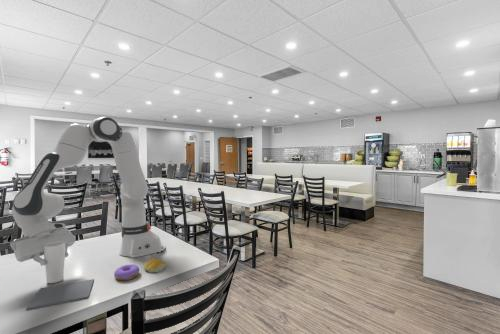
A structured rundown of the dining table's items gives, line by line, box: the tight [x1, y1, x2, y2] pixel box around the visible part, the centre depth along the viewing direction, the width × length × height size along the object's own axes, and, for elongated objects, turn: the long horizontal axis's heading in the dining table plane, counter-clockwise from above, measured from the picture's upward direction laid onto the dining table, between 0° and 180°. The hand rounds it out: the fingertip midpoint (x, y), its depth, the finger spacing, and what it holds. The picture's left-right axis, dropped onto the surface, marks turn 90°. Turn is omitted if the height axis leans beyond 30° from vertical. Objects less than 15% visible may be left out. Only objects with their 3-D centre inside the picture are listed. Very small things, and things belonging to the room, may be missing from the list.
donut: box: [113, 263, 140, 281], centre depth 105 cm, size 10×9×5 cm
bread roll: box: [143, 258, 166, 274], centre depth 112 cm, size 8×9×4 cm
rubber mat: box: [25, 278, 95, 311], centre depth 91 cm, size 17×14×1 cm
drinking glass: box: [43, 241, 66, 284], centre depth 100 cm, size 7×7×15 cm
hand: (55, 260), depth 100 cm, fingers closed on drinking glass, 6 cm apart
